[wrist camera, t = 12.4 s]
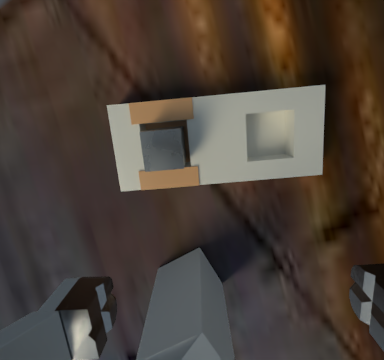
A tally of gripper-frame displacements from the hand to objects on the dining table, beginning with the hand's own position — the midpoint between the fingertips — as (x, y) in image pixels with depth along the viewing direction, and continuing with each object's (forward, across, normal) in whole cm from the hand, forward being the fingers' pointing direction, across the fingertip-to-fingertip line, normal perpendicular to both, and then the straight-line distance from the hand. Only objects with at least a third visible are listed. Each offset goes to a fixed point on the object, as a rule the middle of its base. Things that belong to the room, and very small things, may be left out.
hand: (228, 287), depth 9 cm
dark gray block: (+24, +5, -2) cm, 25 cm away
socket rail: (+26, -1, -2) cm, 26 cm away
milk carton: (+25, +4, +18) cm, 31 cm away
